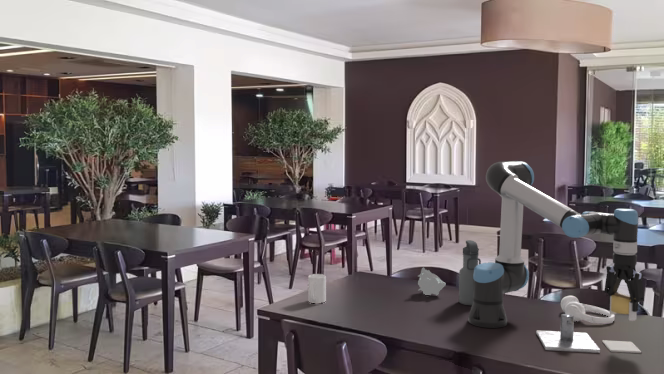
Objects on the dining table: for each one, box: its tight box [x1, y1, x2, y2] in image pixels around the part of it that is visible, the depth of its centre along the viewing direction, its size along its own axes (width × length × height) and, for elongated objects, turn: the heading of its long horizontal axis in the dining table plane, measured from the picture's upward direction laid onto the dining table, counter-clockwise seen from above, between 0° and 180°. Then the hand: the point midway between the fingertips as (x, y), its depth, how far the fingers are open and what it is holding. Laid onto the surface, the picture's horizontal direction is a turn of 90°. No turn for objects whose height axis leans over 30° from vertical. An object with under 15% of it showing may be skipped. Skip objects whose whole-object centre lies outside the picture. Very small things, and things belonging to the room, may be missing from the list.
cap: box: [611, 291, 631, 315], centre depth 208 cm, size 8×8×6 cm
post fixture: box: [535, 313, 601, 354], centre depth 214 cm, size 18×18×10 cm
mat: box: [601, 339, 642, 354], centre depth 210 cm, size 10×10×1 cm
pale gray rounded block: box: [307, 273, 327, 303], centre depth 266 cm, size 8×12×12 cm
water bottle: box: [458, 239, 482, 307], centre depth 266 cm, size 10×10×28 cm
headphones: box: [560, 295, 616, 325], centre depth 244 cm, size 20×8×20 cm
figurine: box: [417, 267, 446, 296], centre depth 281 cm, size 10×15×14 cm
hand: (622, 316), depth 209 cm, fingers closed on cap, 7 cm apart
